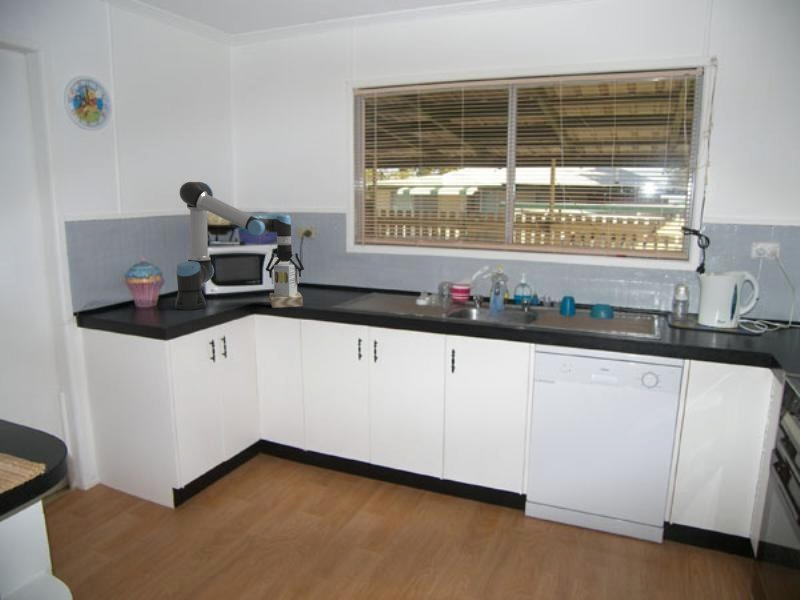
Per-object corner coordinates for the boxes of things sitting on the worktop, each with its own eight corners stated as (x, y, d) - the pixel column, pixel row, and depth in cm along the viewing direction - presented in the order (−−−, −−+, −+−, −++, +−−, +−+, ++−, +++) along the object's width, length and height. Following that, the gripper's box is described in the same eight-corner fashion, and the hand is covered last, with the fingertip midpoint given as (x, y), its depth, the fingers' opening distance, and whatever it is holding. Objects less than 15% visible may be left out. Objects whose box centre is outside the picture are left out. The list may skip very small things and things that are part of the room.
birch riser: (272, 307, 297) (272, 298, 296) (269, 301, 312) (269, 293, 311) (302, 306, 302) (302, 297, 301) (299, 300, 317) (298, 291, 316)
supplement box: (273, 295, 303) (272, 264, 300) (282, 293, 312) (281, 262, 309) (289, 297, 301) (289, 265, 297) (297, 294, 309) (297, 263, 306)
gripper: (260, 245, 294) (262, 285, 298) (308, 244, 301) (309, 283, 305) (259, 243, 301) (261, 283, 305) (306, 243, 308) (307, 281, 312)
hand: (285, 283), depth 305 cm, fingers open, 13 cm apart
